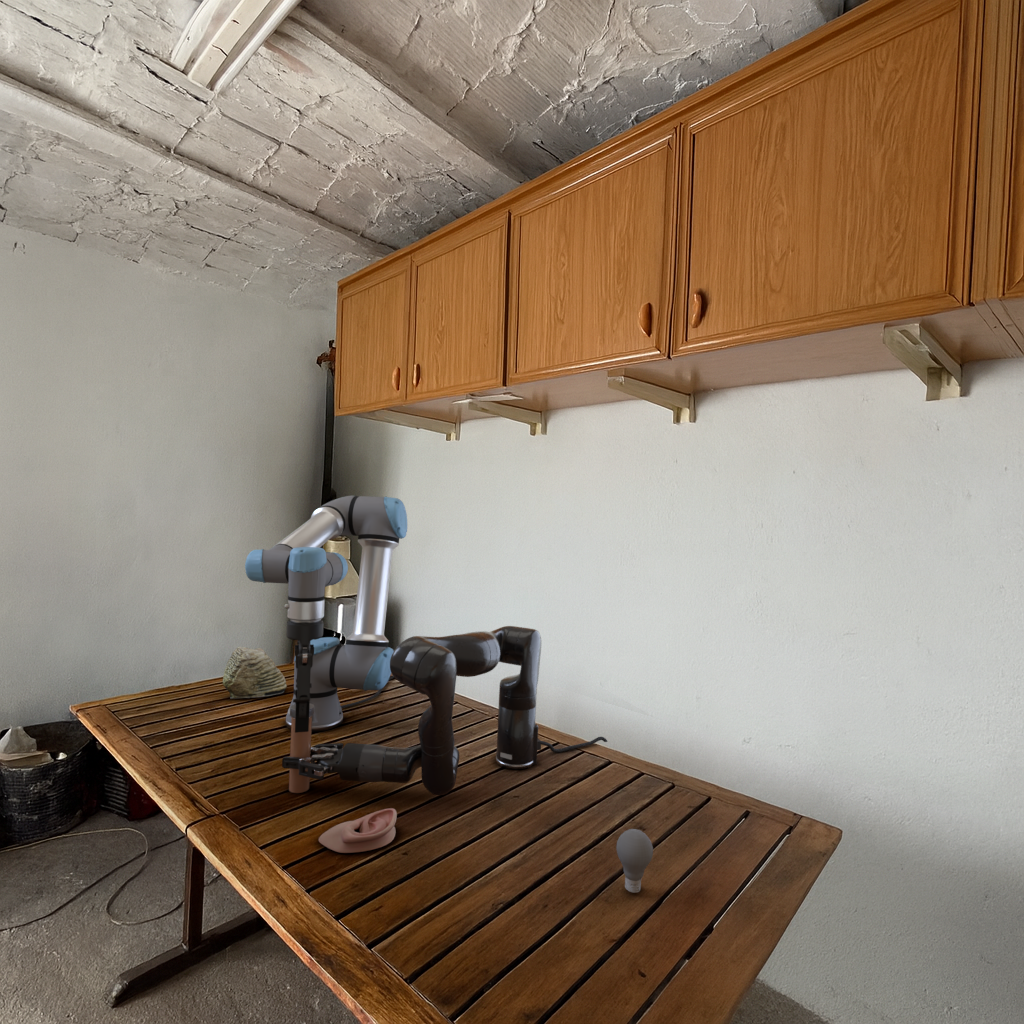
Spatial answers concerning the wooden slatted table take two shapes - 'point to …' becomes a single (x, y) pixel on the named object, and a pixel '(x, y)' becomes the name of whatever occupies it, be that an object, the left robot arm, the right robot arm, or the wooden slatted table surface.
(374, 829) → the anatomical model
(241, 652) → the fossil
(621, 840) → the light bulb
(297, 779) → the pinkish brown cylinder
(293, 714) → the lid
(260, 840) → the wooden slatted table surface
